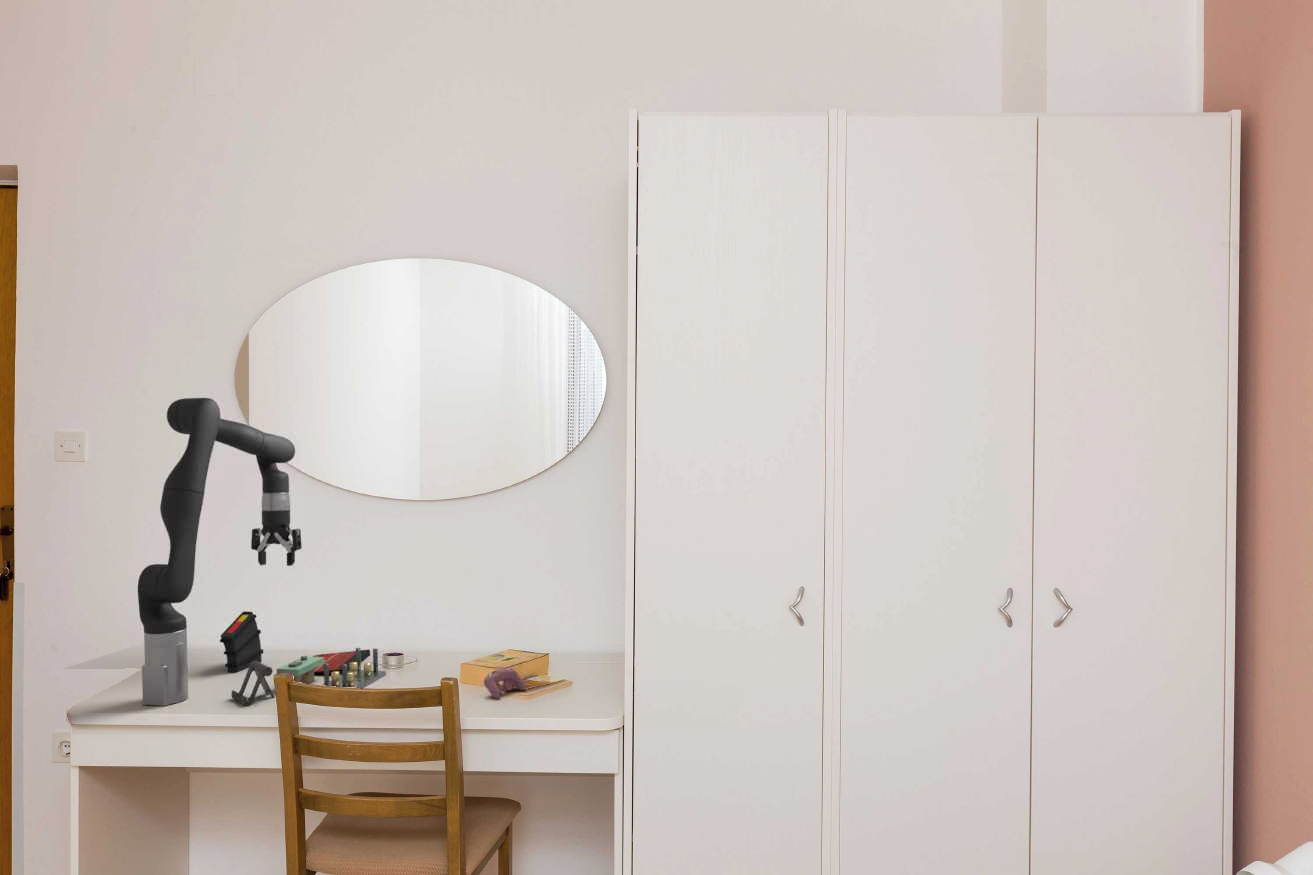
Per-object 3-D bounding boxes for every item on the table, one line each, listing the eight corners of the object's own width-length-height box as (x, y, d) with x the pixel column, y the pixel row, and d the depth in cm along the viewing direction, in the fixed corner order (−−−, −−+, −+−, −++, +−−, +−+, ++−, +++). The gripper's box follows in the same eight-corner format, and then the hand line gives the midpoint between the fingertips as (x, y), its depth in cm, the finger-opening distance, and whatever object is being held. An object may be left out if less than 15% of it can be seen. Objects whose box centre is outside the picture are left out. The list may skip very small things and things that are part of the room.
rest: (296, 689, 233) (296, 673, 233) (288, 688, 233) (287, 673, 233) (314, 680, 241) (314, 664, 241) (306, 679, 241) (305, 664, 241)
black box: (270, 653, 263) (254, 610, 256) (243, 685, 251) (226, 641, 245) (258, 652, 263) (242, 610, 257) (231, 684, 252) (214, 640, 245)
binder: (370, 648, 266) (346, 668, 245) (370, 656, 266) (347, 677, 245) (314, 652, 265) (286, 672, 244) (315, 660, 266) (286, 681, 245)
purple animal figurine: (517, 693, 232) (508, 667, 234) (528, 688, 229) (519, 661, 231) (487, 703, 224) (478, 675, 226) (498, 698, 221) (489, 670, 223)
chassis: (352, 693, 228) (352, 665, 228) (316, 691, 230) (315, 664, 230) (385, 674, 245) (385, 648, 245) (351, 673, 247) (350, 647, 247)
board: (298, 675, 230) (298, 666, 230) (276, 674, 232) (276, 665, 232) (324, 663, 242) (324, 654, 242) (303, 662, 243) (303, 653, 243)
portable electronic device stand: (231, 699, 225) (230, 665, 225) (263, 692, 231) (262, 659, 231) (244, 707, 219) (244, 672, 219) (278, 699, 225) (277, 665, 224)
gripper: (245, 509, 260) (245, 566, 260) (291, 509, 258) (291, 567, 258) (261, 507, 267) (261, 562, 268) (306, 507, 265) (306, 563, 265)
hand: (276, 565), depth 263 cm, fingers open, 8 cm apart
